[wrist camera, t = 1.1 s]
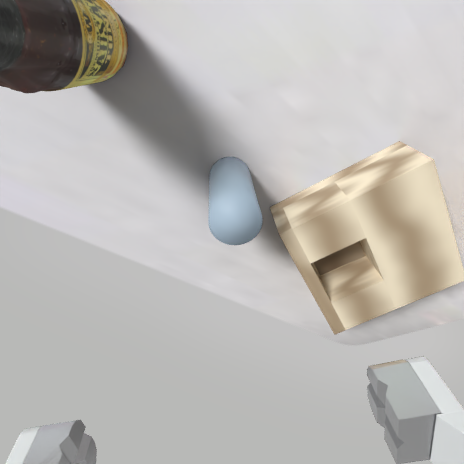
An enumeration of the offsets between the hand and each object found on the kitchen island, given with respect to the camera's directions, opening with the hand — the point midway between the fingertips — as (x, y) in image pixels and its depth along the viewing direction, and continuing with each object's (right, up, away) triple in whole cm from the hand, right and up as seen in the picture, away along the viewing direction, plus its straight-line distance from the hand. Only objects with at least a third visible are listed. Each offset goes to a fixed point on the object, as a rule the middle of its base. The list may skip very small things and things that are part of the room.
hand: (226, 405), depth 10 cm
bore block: (+14, +5, +29) cm, 32 cm away
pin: (0, +10, +25) cm, 27 cm away
